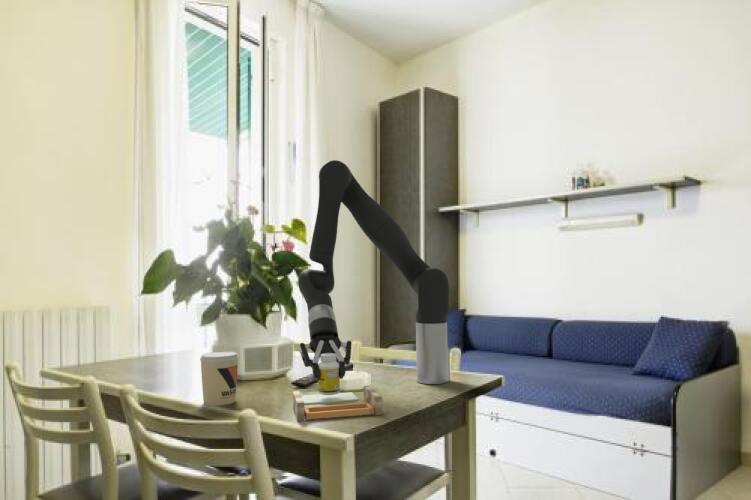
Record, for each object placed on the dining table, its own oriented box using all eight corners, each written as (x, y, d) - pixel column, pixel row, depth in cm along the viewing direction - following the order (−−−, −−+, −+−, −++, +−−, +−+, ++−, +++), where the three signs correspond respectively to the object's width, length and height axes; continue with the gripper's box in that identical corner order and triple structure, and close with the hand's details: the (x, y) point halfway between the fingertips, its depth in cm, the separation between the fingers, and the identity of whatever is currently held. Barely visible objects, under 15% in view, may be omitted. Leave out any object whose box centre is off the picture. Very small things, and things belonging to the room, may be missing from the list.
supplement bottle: (315, 391, 133) (315, 353, 133) (336, 389, 135) (335, 351, 135) (321, 396, 128) (320, 356, 128) (342, 394, 129) (341, 354, 130)
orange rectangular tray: (303, 414, 118) (303, 407, 118) (367, 409, 121) (367, 402, 122) (306, 420, 113) (306, 413, 113) (373, 415, 116) (373, 408, 116)
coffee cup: (224, 407, 125) (224, 357, 126) (192, 405, 128) (192, 356, 129) (245, 398, 134) (245, 352, 135) (215, 396, 137) (215, 350, 138)
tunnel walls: (292, 407, 124) (292, 390, 124) (369, 401, 129) (369, 385, 129) (297, 421, 112) (297, 403, 112) (382, 414, 117) (382, 396, 117)
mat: (299, 397, 134) (299, 395, 134) (351, 393, 138) (351, 392, 138) (302, 404, 127) (302, 403, 127) (358, 400, 130) (358, 399, 130)
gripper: (297, 317, 137) (302, 370, 125) (350, 315, 141) (360, 367, 129) (295, 334, 142) (300, 388, 130) (346, 332, 146) (356, 384, 134)
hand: (330, 377), depth 129 cm, fingers closed on supplement bottle, 5 cm apart
